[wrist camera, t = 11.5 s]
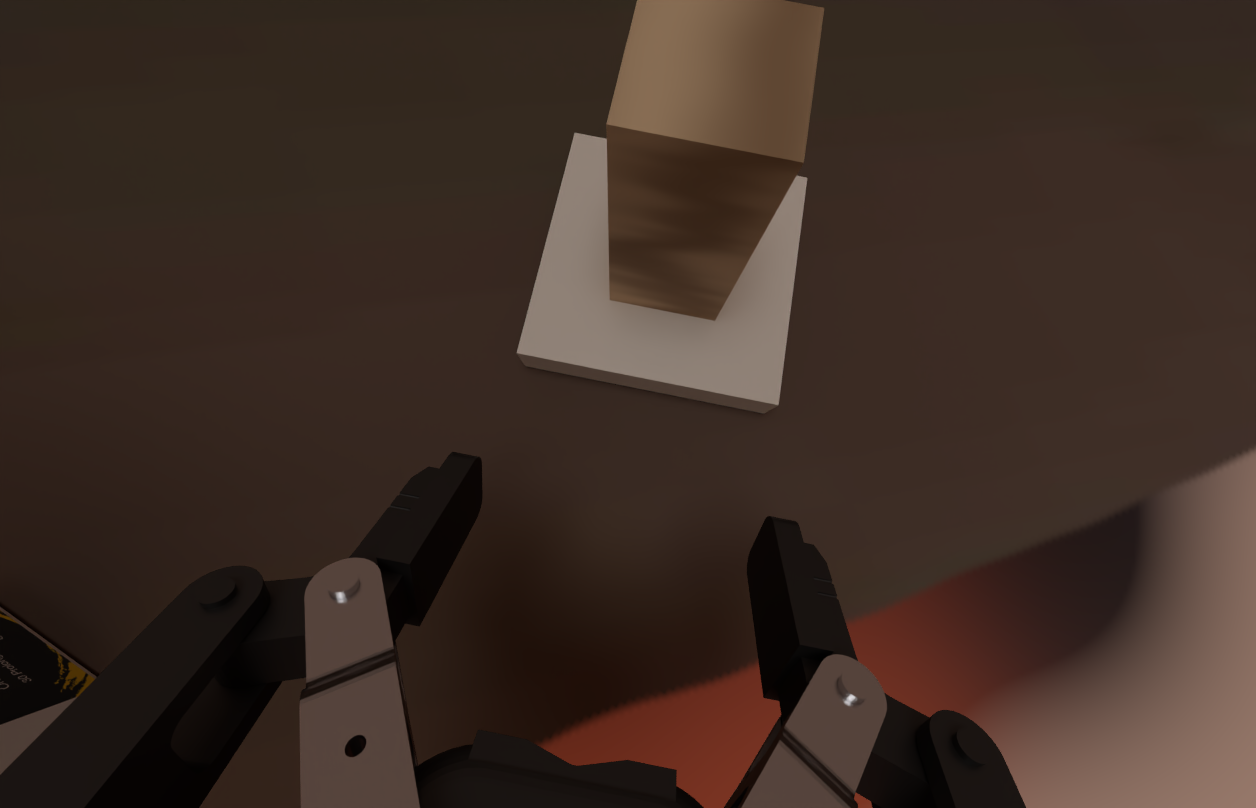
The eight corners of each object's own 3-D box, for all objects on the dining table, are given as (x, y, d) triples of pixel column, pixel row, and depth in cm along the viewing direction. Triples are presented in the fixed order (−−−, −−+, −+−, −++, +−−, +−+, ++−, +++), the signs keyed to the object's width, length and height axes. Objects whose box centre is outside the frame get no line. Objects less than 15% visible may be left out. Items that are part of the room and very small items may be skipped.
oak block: (609, 300, 21) (606, 124, 11) (630, 207, 22) (644, -27, 12) (715, 320, 21) (803, 162, 11) (730, 227, 22) (824, 8, 12)
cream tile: (525, 366, 22) (516, 353, 20) (577, 161, 25) (574, 133, 23) (763, 413, 22) (778, 405, 20) (791, 203, 25) (807, 177, 23)
